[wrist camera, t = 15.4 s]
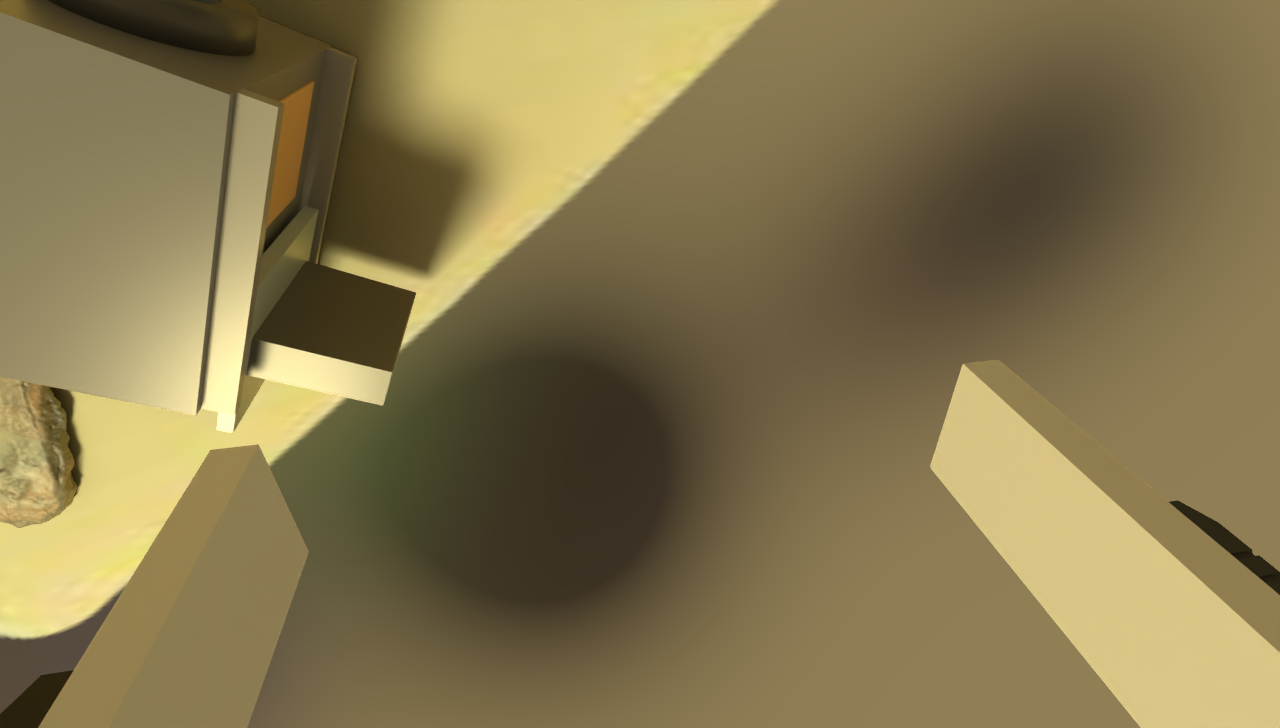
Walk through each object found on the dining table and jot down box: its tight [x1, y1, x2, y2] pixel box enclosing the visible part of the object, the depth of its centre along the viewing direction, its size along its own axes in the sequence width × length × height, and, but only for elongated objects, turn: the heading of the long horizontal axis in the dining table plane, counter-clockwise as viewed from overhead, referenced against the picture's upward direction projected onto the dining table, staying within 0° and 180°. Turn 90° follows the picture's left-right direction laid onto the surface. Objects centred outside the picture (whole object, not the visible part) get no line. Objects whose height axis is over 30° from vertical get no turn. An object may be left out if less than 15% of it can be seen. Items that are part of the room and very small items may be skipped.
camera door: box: [216, 205, 416, 433], centre depth 38 cm, size 9×8×12 cm
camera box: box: [0, 0, 357, 416], centre depth 32 cm, size 18×12×16 cm
